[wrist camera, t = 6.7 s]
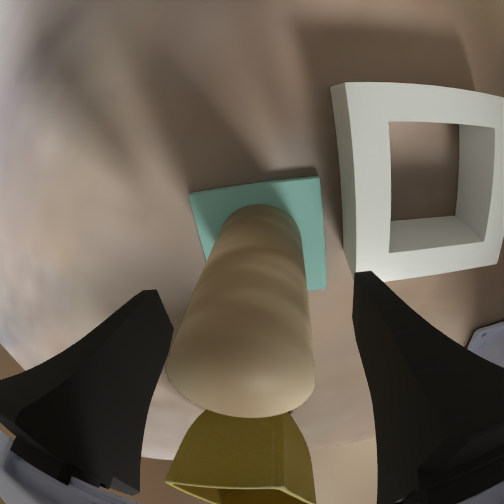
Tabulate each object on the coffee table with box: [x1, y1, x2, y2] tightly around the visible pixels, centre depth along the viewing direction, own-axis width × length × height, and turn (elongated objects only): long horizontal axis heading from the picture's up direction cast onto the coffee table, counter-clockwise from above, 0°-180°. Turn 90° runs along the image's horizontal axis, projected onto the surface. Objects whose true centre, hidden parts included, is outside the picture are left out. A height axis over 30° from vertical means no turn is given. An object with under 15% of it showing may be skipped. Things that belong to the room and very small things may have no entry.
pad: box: [189, 176, 326, 291], centre depth 14 cm, size 6×6×1 cm
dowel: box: [166, 204, 315, 418], centre depth 11 cm, size 4×4×8 cm
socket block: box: [330, 82, 504, 282], centre depth 10 cm, size 8×8×3 cm
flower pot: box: [164, 409, 316, 504], centre depth 19 cm, size 9×9×9 cm
